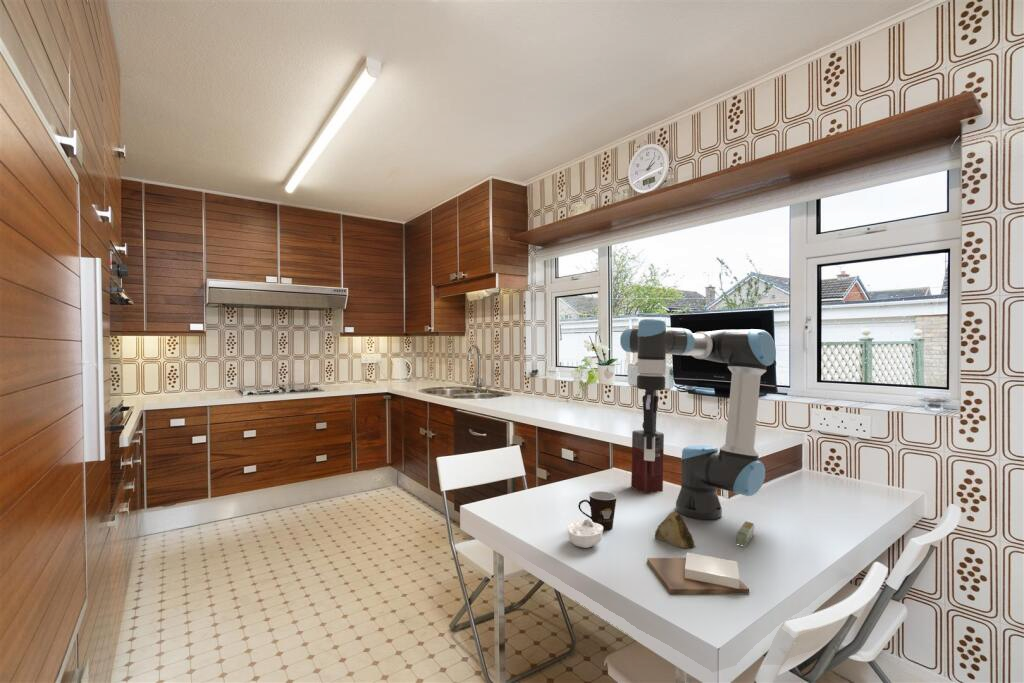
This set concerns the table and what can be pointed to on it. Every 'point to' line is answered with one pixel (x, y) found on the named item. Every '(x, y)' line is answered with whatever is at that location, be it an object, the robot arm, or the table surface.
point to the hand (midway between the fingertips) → (649, 460)
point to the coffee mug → (601, 508)
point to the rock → (675, 531)
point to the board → (676, 583)
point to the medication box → (745, 533)
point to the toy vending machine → (647, 464)
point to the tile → (712, 570)
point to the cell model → (585, 533)
